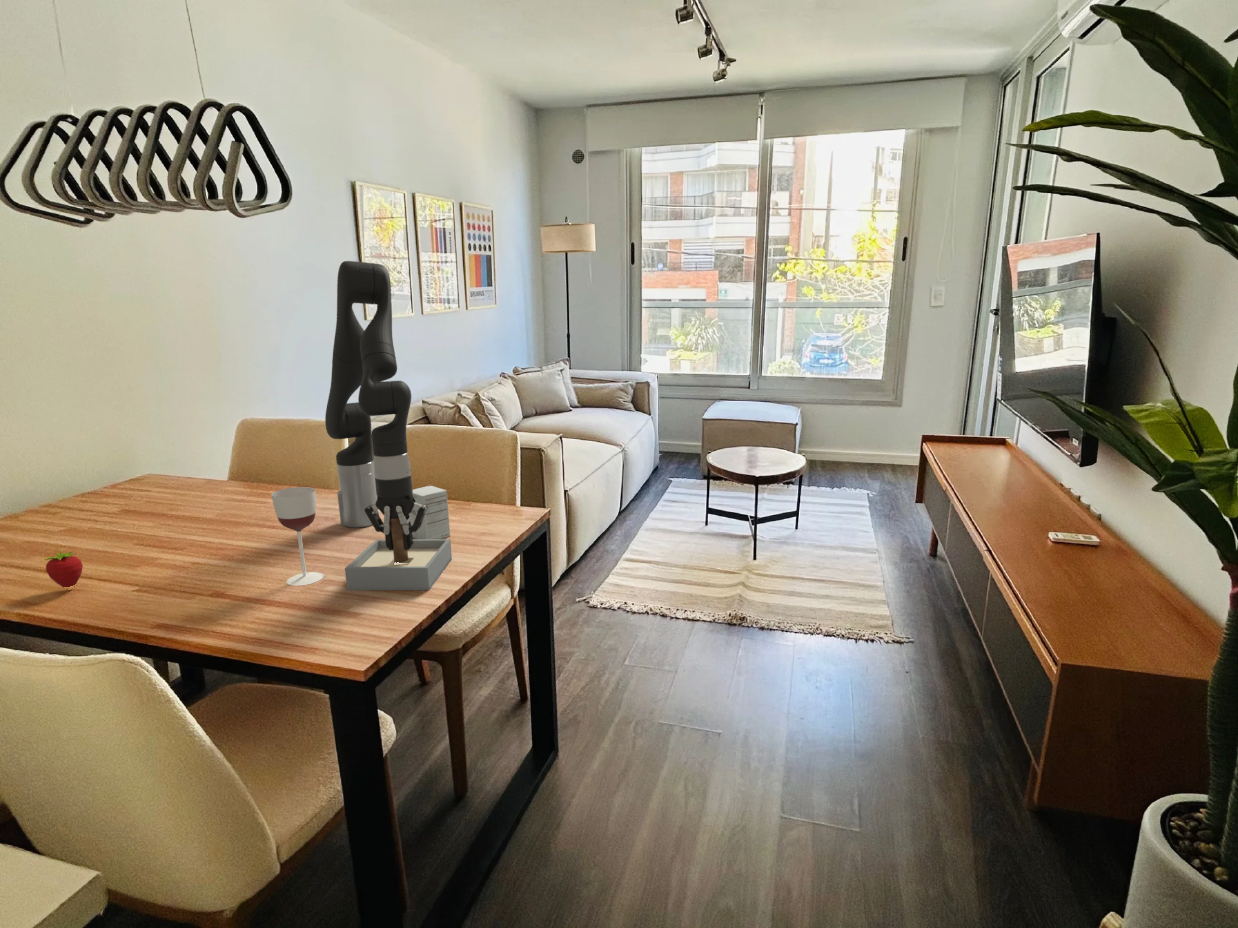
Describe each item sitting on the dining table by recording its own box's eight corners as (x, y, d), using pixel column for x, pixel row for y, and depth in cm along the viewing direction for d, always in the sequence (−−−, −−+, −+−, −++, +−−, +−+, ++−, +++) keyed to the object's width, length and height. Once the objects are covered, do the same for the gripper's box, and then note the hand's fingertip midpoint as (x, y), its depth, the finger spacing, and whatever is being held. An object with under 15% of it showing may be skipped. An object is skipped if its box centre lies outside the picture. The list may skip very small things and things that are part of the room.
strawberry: (62, 598, 145) (52, 554, 142) (44, 592, 148) (34, 548, 146) (94, 588, 150) (84, 544, 147) (76, 582, 153) (66, 539, 151)
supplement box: (410, 537, 178) (406, 490, 175) (435, 530, 183) (431, 484, 180) (426, 544, 173) (421, 495, 170) (451, 536, 178) (447, 489, 176)
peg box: (347, 590, 146) (344, 568, 145) (378, 559, 163) (376, 539, 162) (429, 590, 146) (427, 567, 144) (451, 559, 163) (450, 539, 161)
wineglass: (294, 571, 157) (282, 487, 152) (332, 571, 157) (321, 486, 152) (276, 586, 149) (263, 497, 144) (316, 585, 149) (304, 497, 144)
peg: (392, 562, 152) (387, 519, 150) (396, 557, 155) (392, 515, 153) (405, 562, 152) (401, 519, 150) (410, 557, 155) (406, 514, 153)
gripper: (353, 478, 146) (362, 555, 150) (419, 477, 145) (426, 555, 149) (367, 470, 153) (375, 543, 157) (430, 469, 152) (436, 543, 156)
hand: (400, 548), depth 153 cm, fingers closed on peg, 3 cm apart
